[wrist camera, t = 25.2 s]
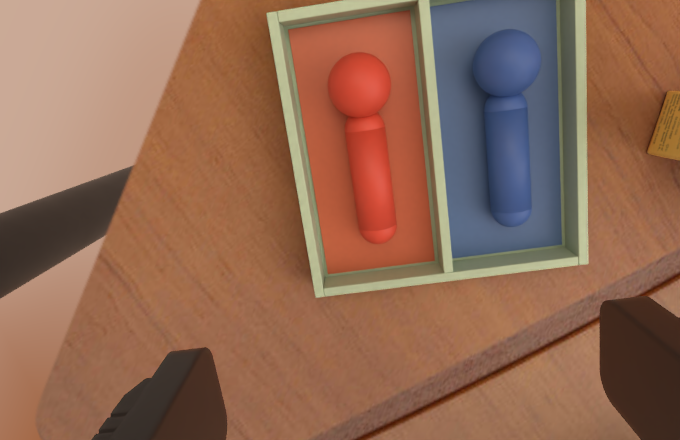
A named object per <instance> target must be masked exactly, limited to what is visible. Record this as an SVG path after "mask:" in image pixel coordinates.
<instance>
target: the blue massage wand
mask: <svg viewBox="0 0 680 440" xmlns="http://www.w3.org/2000/svg"><path fill="white" fill-rule="evenodd" d="M540 67H541V53H540V49H539V47H538V45H537V43H536V42H535V40H534V39H533V38H532V37H531V36H530V35H528V34H527V33H525V32H523V31H520V30H516V29H505V30H501V31H498V32H495V33H493V34H492V35H490V36H489V37H487V38H486V39H485V40H484V41H483V42H482V43H481V44H480V46H479V47H478V49H477V51H476V53H475V56H474V60H473V73H474V77H475V79H476V81H477V83H478V85H479V86H480V87H481V88H482V89H483V90H484V91H485V92H487V93H489V94H491V95H490V96H489V97H488V99H487V101H486V103H485V106H484V118H485V133H486V148H487V163H488V178H489V193H490V208H491V214H492V216H493V218H494V219H495V220H496V221H497V222H498V223H499V224H501V225H503V226H506V227H517V226H519V225H522V224H523V223H524V222H526V221H527V220H528V218H529V216H530V215H531V211H532V197H531V174H530V151H529V128H528V106H527V101H526V98H525V97H524V95H523V94H522V93H521V92H523V91H524V90H526V89H527V88H528V87H529V86H530V85H531V84H532V83H533V82H534V80H535V79H536V77H537V75H538V73H539V70H540Z"/></svg>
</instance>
